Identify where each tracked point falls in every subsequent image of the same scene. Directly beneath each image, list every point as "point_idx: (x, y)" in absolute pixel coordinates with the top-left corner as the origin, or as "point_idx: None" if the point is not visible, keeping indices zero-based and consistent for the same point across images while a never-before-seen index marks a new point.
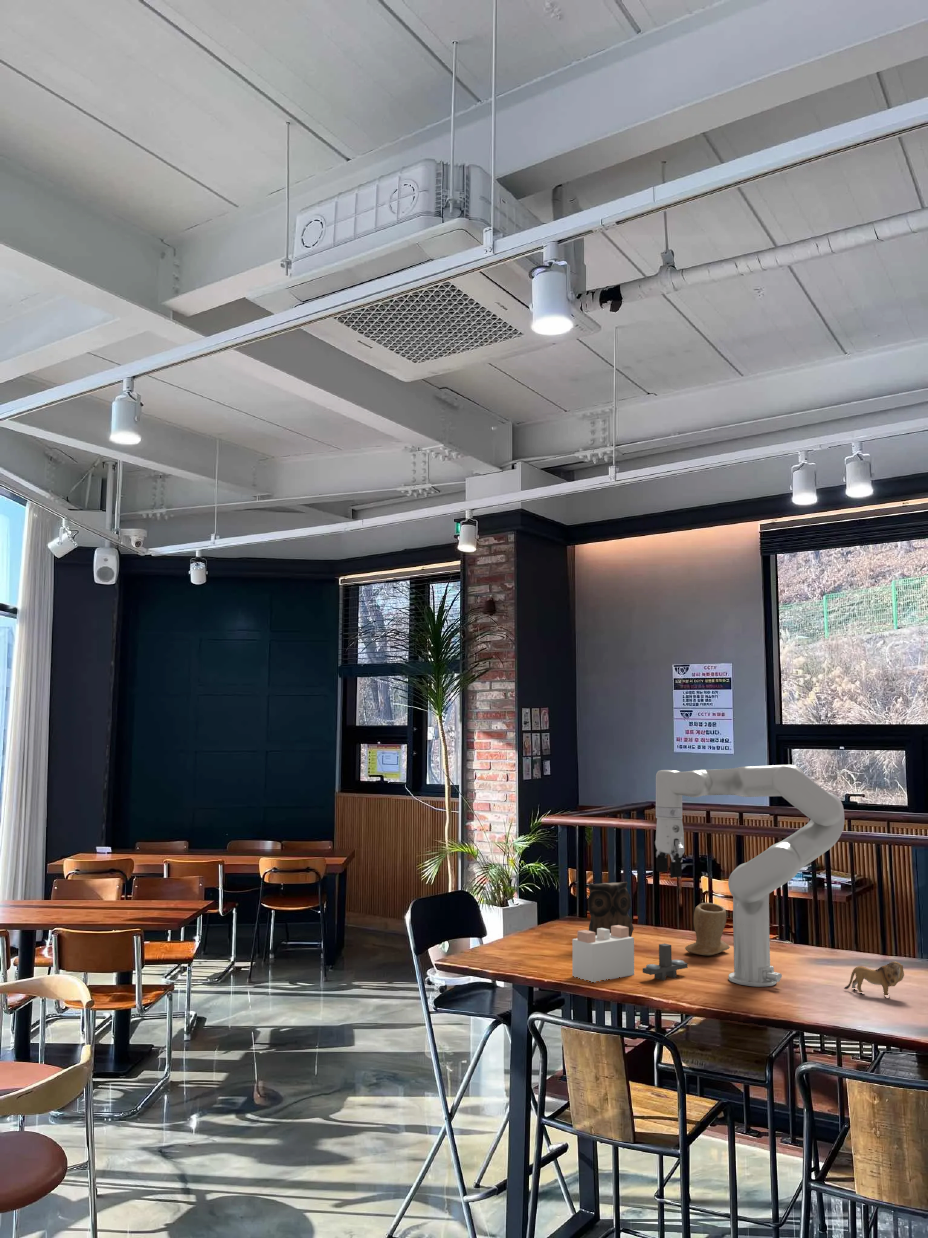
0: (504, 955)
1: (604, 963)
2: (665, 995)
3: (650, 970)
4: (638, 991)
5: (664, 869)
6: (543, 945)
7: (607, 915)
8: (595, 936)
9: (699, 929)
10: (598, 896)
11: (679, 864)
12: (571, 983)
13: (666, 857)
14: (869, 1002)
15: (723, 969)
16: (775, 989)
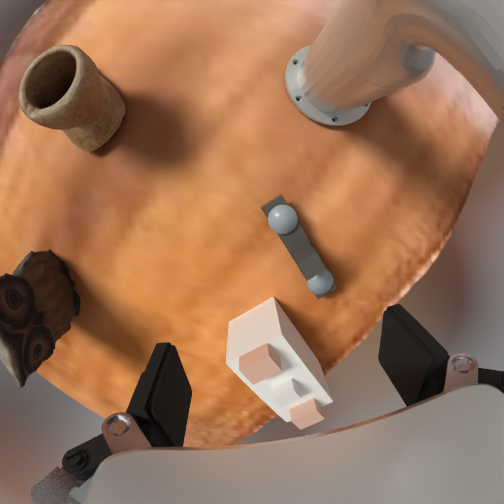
0: None
1: (313, 362)
2: (399, 273)
3: (335, 288)
4: (373, 307)
5: (177, 366)
6: (87, 374)
7: (48, 324)
8: (265, 395)
9: (86, 118)
10: (31, 360)
11: (447, 360)
12: None
13: (136, 412)
14: None
15: (225, 101)
16: None
